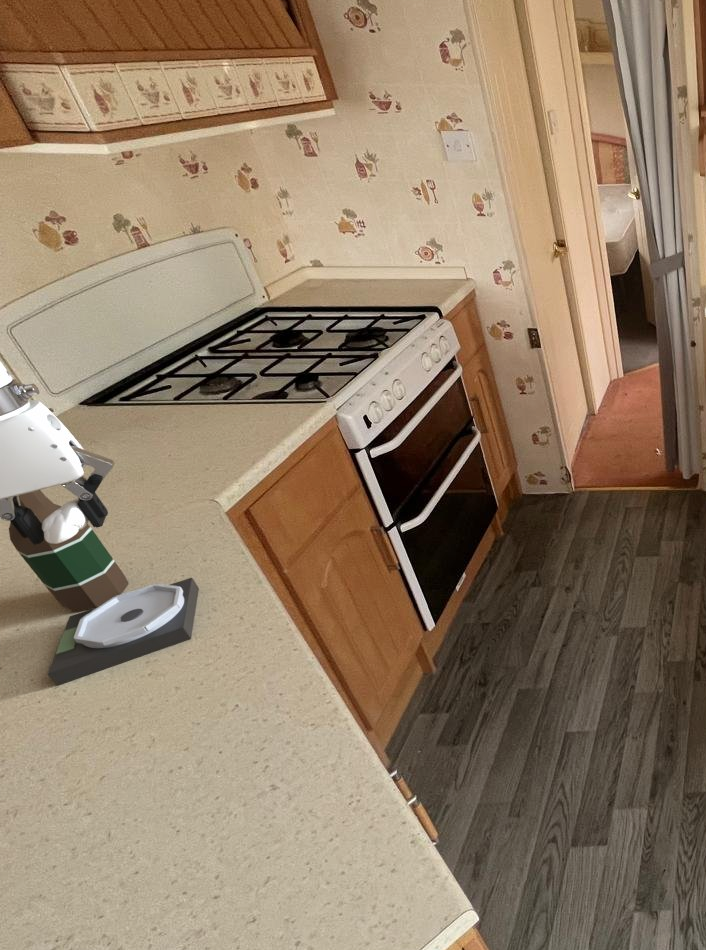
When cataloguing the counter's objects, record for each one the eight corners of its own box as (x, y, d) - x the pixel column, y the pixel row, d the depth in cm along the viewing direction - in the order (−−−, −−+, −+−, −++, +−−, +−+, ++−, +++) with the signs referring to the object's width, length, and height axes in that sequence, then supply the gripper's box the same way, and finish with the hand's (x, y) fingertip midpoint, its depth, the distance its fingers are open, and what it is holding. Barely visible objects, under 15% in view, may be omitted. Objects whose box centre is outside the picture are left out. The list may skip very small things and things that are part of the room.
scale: (57, 685, 88) (40, 666, 86) (78, 627, 97) (63, 608, 95) (191, 638, 94) (178, 619, 92) (199, 588, 104) (187, 570, 102)
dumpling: (103, 534, 87) (77, 515, 84) (54, 557, 85) (26, 538, 82) (100, 504, 91) (75, 485, 88) (53, 525, 89) (26, 506, 86)
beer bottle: (129, 572, 108) (38, 441, 95) (131, 595, 103) (34, 461, 90) (63, 595, 103) (-42, 461, 91) (62, 621, 98) (-50, 483, 86)
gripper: (82, 375, 84) (158, 494, 94) (-116, 414, 77) (-11, 540, 86) (69, 395, 79) (151, 520, 88) (-146, 439, 71) (-31, 571, 80)
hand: (70, 529), depth 87 cm, fingers closed on dumpling, 5 cm apart
